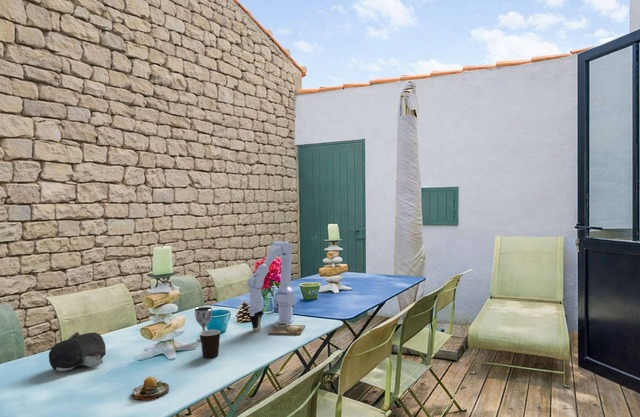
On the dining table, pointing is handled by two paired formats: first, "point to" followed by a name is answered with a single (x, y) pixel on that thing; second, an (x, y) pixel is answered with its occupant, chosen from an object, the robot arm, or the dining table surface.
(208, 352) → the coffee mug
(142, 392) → the brimmed hat
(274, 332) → the plate
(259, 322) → the planet hub
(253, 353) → the dining table surface
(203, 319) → the wine glass
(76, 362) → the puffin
